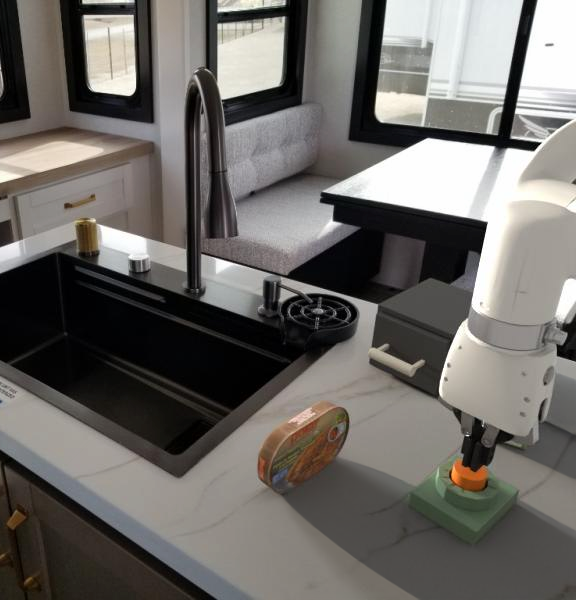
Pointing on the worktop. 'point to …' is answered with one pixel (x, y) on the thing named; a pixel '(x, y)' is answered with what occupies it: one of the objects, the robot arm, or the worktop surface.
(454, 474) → the button
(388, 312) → the grey drawer box
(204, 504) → the worktop surface
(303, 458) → the tin
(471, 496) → the green button base
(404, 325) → the dark grey drawer
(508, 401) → the robot arm
